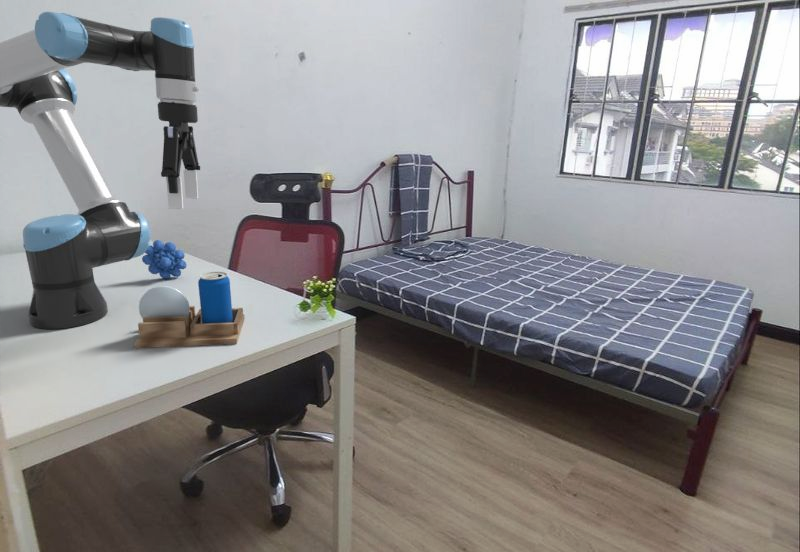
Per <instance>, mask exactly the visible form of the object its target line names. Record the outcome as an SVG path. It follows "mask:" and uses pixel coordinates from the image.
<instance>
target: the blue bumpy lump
mask: <svg viewBox="0 0 800 552" xmlns="http://www.w3.org/2000/svg"><path fill="white" fill-rule="evenodd" d="M144 254H145V255H144ZM144 254H143V255H142V258H141V261H142V263H144V264H145V266H146V265H147V266H148V268H147V269H148V272H149V273H150V274H152V275H157V274H159V276H160V277H161V278H162V279H165V280H168V279H169V278H171V276H173V277H174V278H178V277H180V276H181V275H182V271H181V270H184V269H186V268H187V266H188V265H187V263H186V261H185V260H184V259H185V256H186V255H185V252H184V251H182V250H181V249H177V246H176V244H175V243H173V242H171V241H167V242H166V243H164V242H163V241H162V240H159V239H157V240H156V239H155V241H153V242H152V245H150V244H149V247H148V249H147V250H146V252H145V253H144Z"/></svg>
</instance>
